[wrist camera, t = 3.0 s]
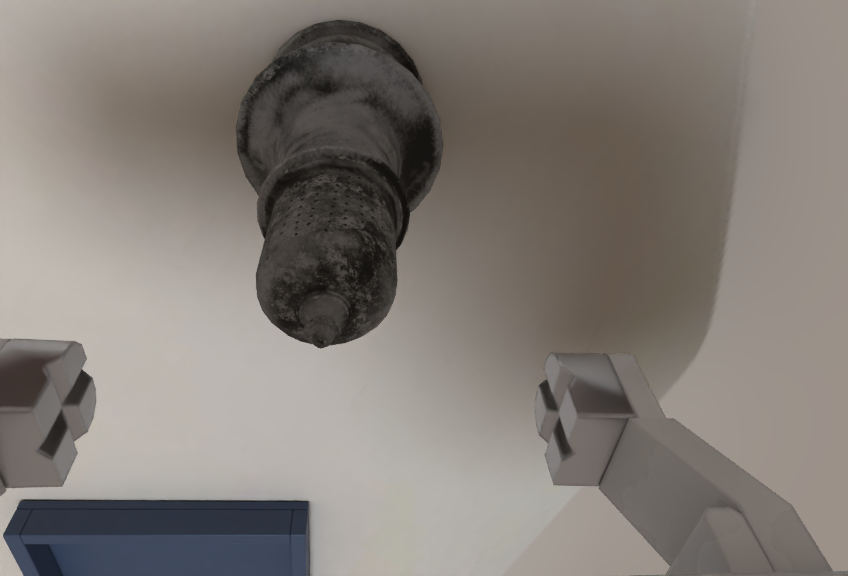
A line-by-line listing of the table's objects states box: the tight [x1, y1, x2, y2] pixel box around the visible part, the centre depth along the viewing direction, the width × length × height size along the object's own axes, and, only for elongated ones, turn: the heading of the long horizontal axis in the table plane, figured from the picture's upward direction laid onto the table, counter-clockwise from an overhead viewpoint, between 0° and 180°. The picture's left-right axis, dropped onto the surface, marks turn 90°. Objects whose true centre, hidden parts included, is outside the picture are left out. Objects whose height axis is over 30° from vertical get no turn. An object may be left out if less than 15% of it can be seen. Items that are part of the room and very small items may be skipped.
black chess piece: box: [236, 20, 443, 348], centre depth 16 cm, size 6×6×12 cm
